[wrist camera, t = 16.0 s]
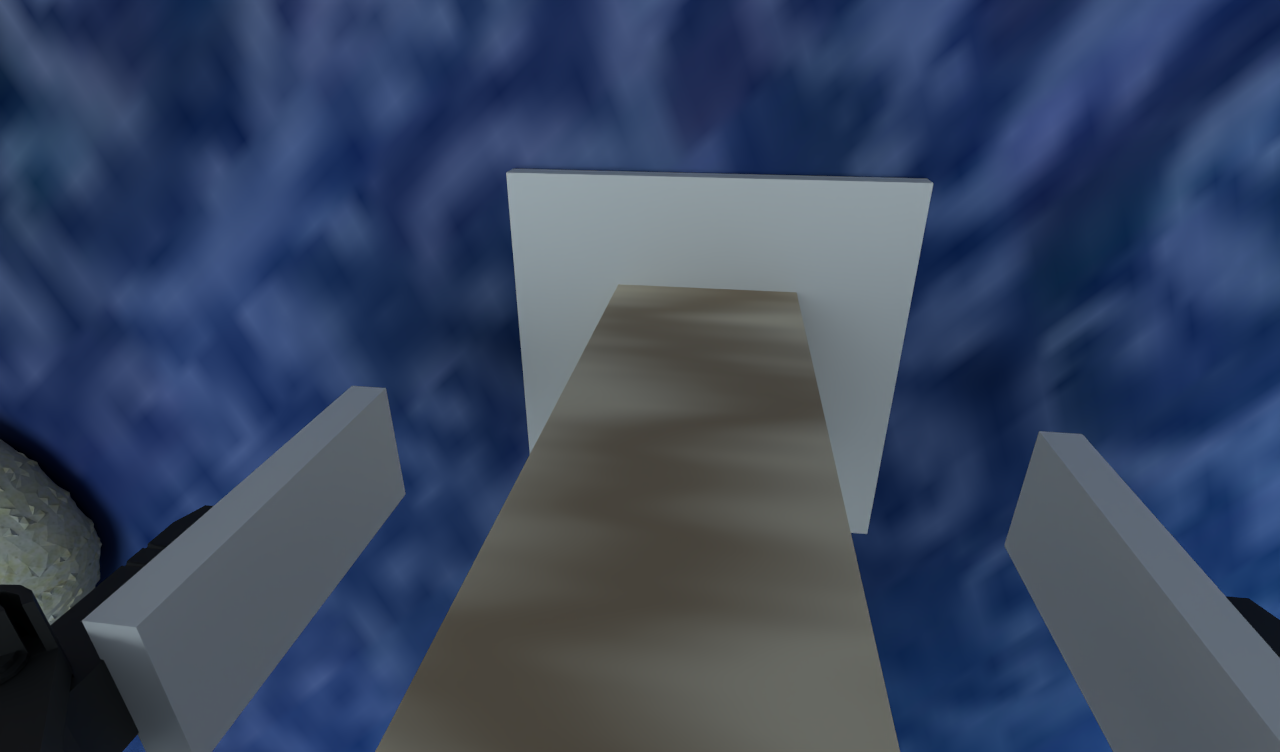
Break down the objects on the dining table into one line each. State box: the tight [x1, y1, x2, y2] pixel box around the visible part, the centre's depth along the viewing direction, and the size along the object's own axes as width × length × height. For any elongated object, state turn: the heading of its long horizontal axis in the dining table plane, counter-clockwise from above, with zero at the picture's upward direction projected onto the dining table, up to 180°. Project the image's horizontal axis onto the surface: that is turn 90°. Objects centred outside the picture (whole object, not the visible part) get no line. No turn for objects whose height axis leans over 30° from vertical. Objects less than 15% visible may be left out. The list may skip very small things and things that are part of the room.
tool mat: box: [506, 169, 933, 534], centre depth 18 cm, size 10×10×1 cm
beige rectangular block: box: [375, 284, 900, 752], centre depth 12 cm, size 4×4×13 cm
